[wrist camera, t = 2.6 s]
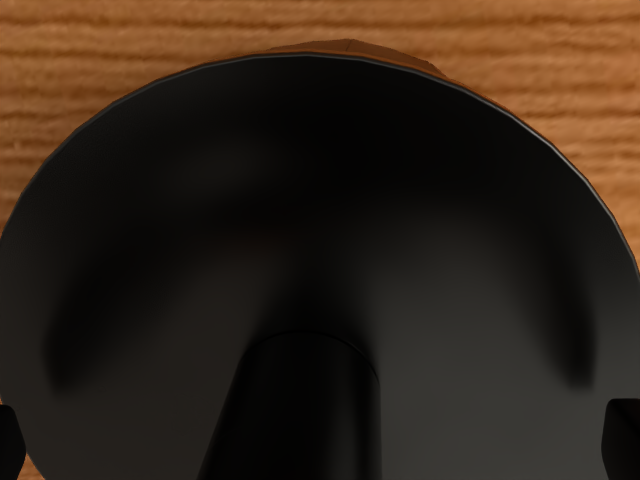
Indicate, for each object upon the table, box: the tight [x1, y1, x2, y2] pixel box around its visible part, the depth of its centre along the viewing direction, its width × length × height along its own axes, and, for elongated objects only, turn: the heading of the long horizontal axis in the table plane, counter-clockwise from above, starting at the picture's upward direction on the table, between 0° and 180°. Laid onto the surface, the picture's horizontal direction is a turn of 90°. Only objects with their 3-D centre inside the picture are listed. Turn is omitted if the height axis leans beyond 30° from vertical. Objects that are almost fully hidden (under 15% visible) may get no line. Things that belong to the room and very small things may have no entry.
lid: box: [0, 48, 640, 480], centre depth 8 cm, size 11×11×5 cm
